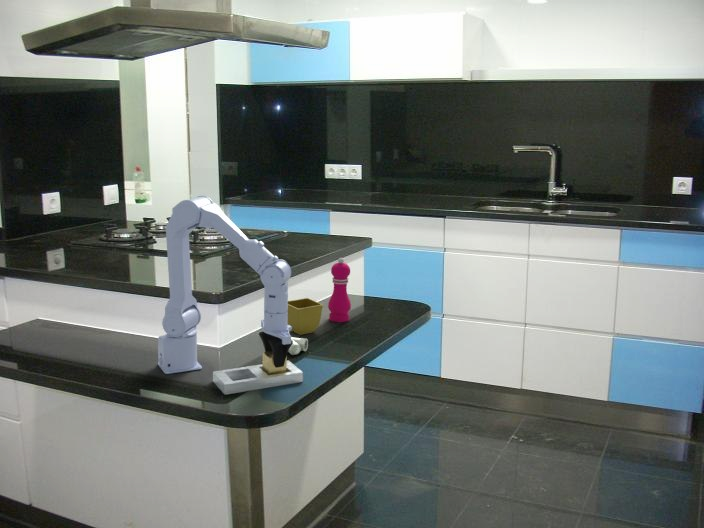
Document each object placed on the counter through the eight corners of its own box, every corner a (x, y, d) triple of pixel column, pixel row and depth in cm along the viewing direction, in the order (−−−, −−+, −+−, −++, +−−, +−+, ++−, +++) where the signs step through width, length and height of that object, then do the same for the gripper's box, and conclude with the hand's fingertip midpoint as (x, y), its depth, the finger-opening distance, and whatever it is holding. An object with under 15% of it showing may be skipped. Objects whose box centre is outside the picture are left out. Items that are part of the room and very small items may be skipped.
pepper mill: (325, 316, 233) (326, 255, 229) (346, 315, 235) (348, 255, 231) (331, 323, 226) (333, 260, 222) (353, 322, 229) (355, 260, 224)
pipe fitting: (299, 358, 197) (308, 349, 203) (299, 345, 196) (308, 336, 202) (272, 355, 199) (281, 345, 205) (271, 342, 198) (281, 332, 204)
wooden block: (268, 381, 178) (269, 358, 176) (262, 375, 181) (262, 352, 180) (285, 379, 180) (286, 356, 178) (278, 372, 184) (279, 350, 182)
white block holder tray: (224, 394, 170) (224, 384, 170) (212, 381, 178) (212, 371, 177) (302, 381, 180) (303, 372, 179) (288, 369, 187) (288, 360, 187)
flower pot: (297, 338, 211) (298, 308, 209) (282, 330, 218) (282, 301, 216) (322, 333, 216) (323, 304, 214) (306, 325, 223) (307, 297, 221)
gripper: (303, 316, 172) (302, 370, 176) (279, 301, 185) (279, 351, 188) (275, 320, 169) (275, 375, 172) (253, 304, 182) (253, 355, 185)
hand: (275, 363), depth 180 cm, fingers closed on wooden block, 4 cm apart
